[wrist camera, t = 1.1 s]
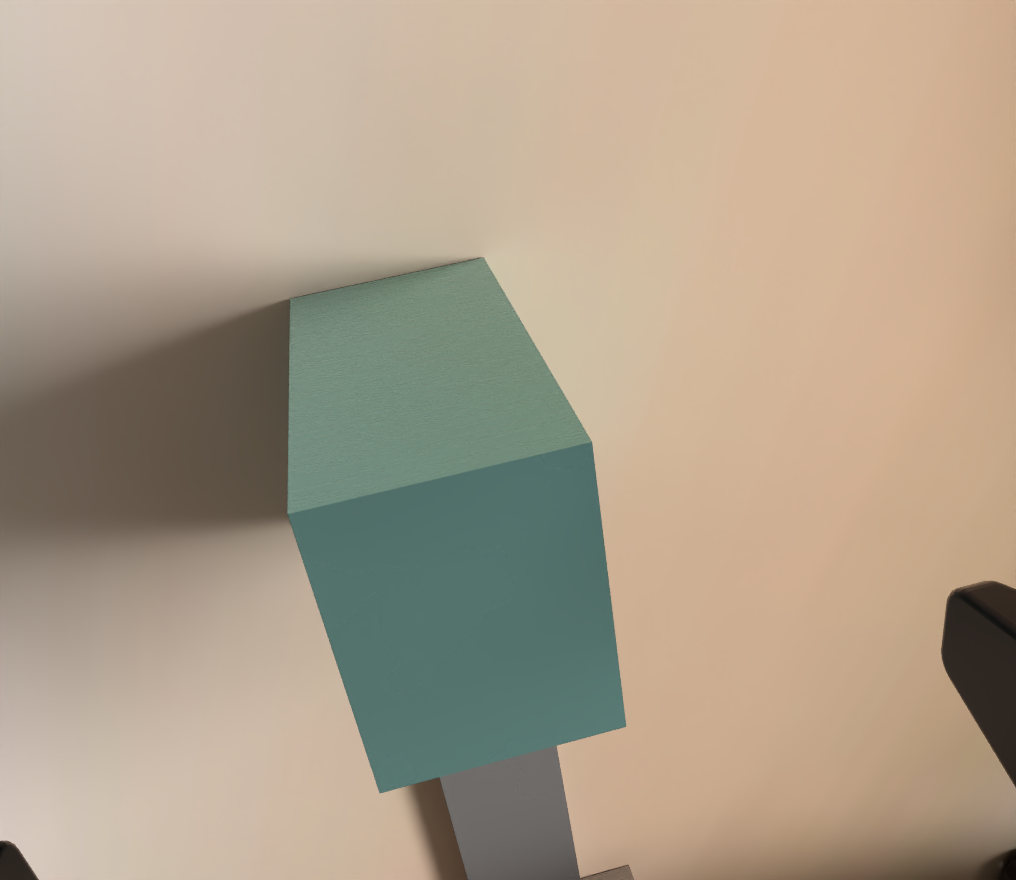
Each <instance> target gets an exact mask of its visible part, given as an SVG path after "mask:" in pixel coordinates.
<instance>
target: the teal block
mask: <svg viewBox="0 0 1016 880" xmlns="http://www.w3.org/2000/svg"><path fill="white" fill-rule="evenodd" d="M287 514H288V517H289V520H290V523H291V526H292V529H293V532H294V535H295V538H296V541H297V545H298V548H299V551H300V554H301V557H302V560H303V563H304V566H305V569H306V572H307V575H308V578H309V581H310V584H311V587H312V590H313V593H314V596H315V599H316V602H317V605H318V608H319V611H320V614H321V617H322V620H323V623H324V626H325V629H326V632H327V635H328V638H329V641H330V644H331V647H332V650H333V653H334V656H335V659H336V663H337V666H338V669H339V672H340V675H341V678H342V681H343V684H344V687H345V690H346V693H347V696H348V699H349V702H350V705H351V708H352V711H353V714H354V717H355V720H356V723H357V726H358V729H359V732H360V735H361V738H362V741H363V744H364V747H365V750H366V753H367V756H368V759H369V762H370V765H371V768H372V771H373V774H374V777H375V780H376V784H377V787H378V790H379V793H383V792H387V791H390V790H394V789H398V788H401V787H405V786H409V785H412V784H416V783H420V782H424V781H427V780H431V779H435V778H438V777H439V778H440V781H441V785H442V789H443V792H444V796H445V799H446V803H447V807H448V810H449V814H450V817H451V821H452V825H453V828H454V832H455V835H456V839H457V843H458V846H459V850H460V853H461V857H462V861H463V864H464V868H465V871H466V875H467V879H468V880H634V878H633V876H632V873H631V870H630V867H629V865H628V866H624V867H621V868H617V869H614V870H610V871H607V872H603V873H600V874H596V875H593V876H589V877H586V878H582V879H580V876H579V870H578V865H577V859H576V853H575V848H574V842H573V836H572V831H571V825H570V820H569V814H568V808H567V803H566V797H565V791H564V786H563V780H562V775H561V769H560V763H559V758H558V752H557V745H560V744H564V743H568V742H571V741H575V740H579V739H582V738H586V737H590V736H594V735H597V734H601V733H605V732H608V731H612V730H616V729H619V728H623V727H626V721H625V712H624V704H623V696H622V687H621V679H620V671H619V663H618V654H617V646H616V638H615V629H614V621H613V613H612V604H611V596H610V588H609V579H608V571H607V563H606V555H605V546H604V538H603V530H602V521H601V513H600V505H599V496H598V488H597V480H596V471H595V463H594V455H593V447H592V441H591V440H590V438H589V436H588V434H587V433H586V431H585V429H584V428H583V426H582V424H581V422H580V421H579V419H578V417H577V416H576V414H575V412H574V411H573V409H572V407H571V405H570V404H569V402H568V400H567V399H566V397H565V395H564V394H563V392H562V390H561V388H560V387H559V385H558V383H557V382H556V380H555V378H554V377H553V375H552V373H551V371H550V370H549V368H548V366H547V365H546V363H545V361H544V360H543V358H542V356H541V354H540V353H539V351H538V349H537V348H536V346H535V344H534V342H533V341H532V339H531V337H530V336H529V334H528V332H527V331H526V329H525V327H524V325H523V324H522V322H521V320H520V319H519V317H518V315H517V314H516V312H515V310H514V308H513V307H512V305H511V303H510V302H509V300H508V298H507V297H506V295H505V293H504V291H503V290H502V288H501V286H500V285H499V283H498V281H497V279H496V278H495V276H494V274H493V273H492V271H491V269H490V268H489V266H488V264H487V262H486V261H485V259H484V258H479V259H474V260H470V261H465V262H460V263H456V264H451V265H446V266H442V267H437V268H432V269H427V270H423V271H418V272H413V273H409V274H404V275H399V276H395V277H390V278H385V279H381V280H376V281H371V282H367V283H362V284H357V285H353V286H348V287H343V288H339V289H334V290H329V291H325V292H320V293H315V294H310V295H306V296H301V297H296V298H292V299H290V344H289V428H288V512H287Z"/></svg>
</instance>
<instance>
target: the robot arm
mask: <svg viewBox="0 0 1016 880" xmlns="http://www.w3.org/2000/svg"><path fill="white" fill-rule="evenodd" d="M941 654H942V661H943V664H944V667H945V670H946V672H947V674H948V676H949V678H950V680H951V681H952V683H953V685H954V686H955V688H956V689H957V691H958V693H959V694H960V696H961V698H962V699H963V701H964V703H965V704H966V706H967V708H968V709H969V711H970V713H971V714H972V716H973V718H974V719H975V721H976V723H977V724H978V726H979V728H980V729H981V731H982V733H983V734H984V736H985V737H986V739H987V741H988V742H989V744H990V746H991V747H992V749H993V751H994V752H995V754H996V756H997V757H998V759H999V761H1000V762H1001V764H1002V766H1003V767H1004V769H1005V771H1006V772H1007V774H1008V776H1009V777H1010V779H1011V781H1012V782H1013V784H1014V785H1015V787H1016V589H1014V588H1012V587H1009V586H1007V585H1004V584H1002V583H999V582H995V581H983V582H979V583H976V584H972V585H968V586H964V587H960V588H957V589H955V590H953V591H952V592H951V593H950V595H949V596H948V599H947V604H946V612H945V621H944V630H943V638H942V647H941ZM0 880H39V879H38V878H37V876H36V875H35V873H34V872H33V870H32V869H31V867H30V866H29V864H28V863H27V861H26V860H25V858H24V857H23V855H22V854H21V852H20V851H19V849H18V848H17V847H16V846H15V844H13V843H11V842H9V841H0ZM1003 880H1016V859H1014V860H1013V861H1011V862H1010V863H1009V865H1008V866H1007V867H1006V869H1005V871H1004V876H1003Z"/></svg>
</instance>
